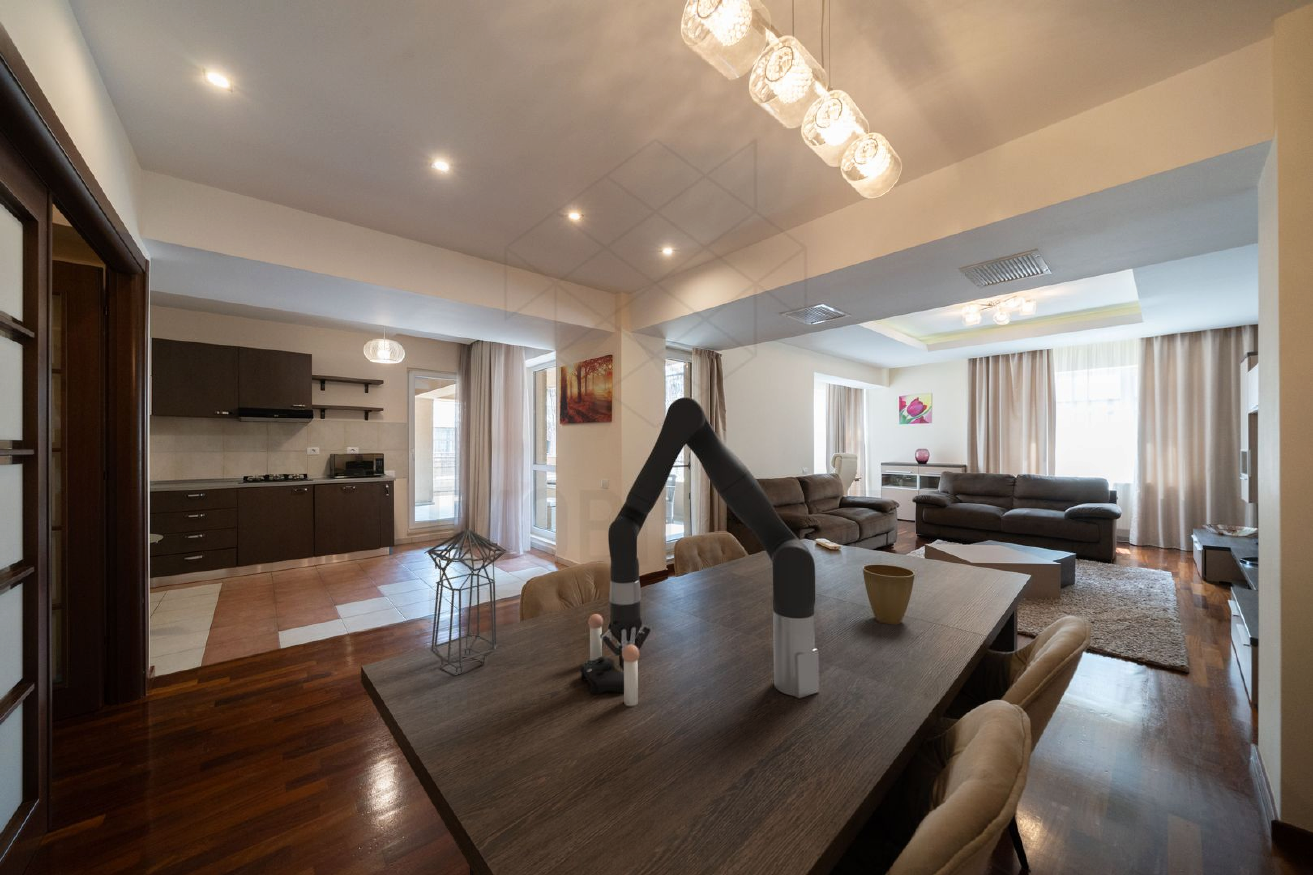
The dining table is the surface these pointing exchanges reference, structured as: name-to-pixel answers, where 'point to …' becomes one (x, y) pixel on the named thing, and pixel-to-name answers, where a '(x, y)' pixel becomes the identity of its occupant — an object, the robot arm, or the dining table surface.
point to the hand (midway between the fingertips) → (626, 669)
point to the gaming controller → (602, 675)
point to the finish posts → (629, 657)
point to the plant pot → (888, 591)
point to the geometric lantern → (481, 542)
